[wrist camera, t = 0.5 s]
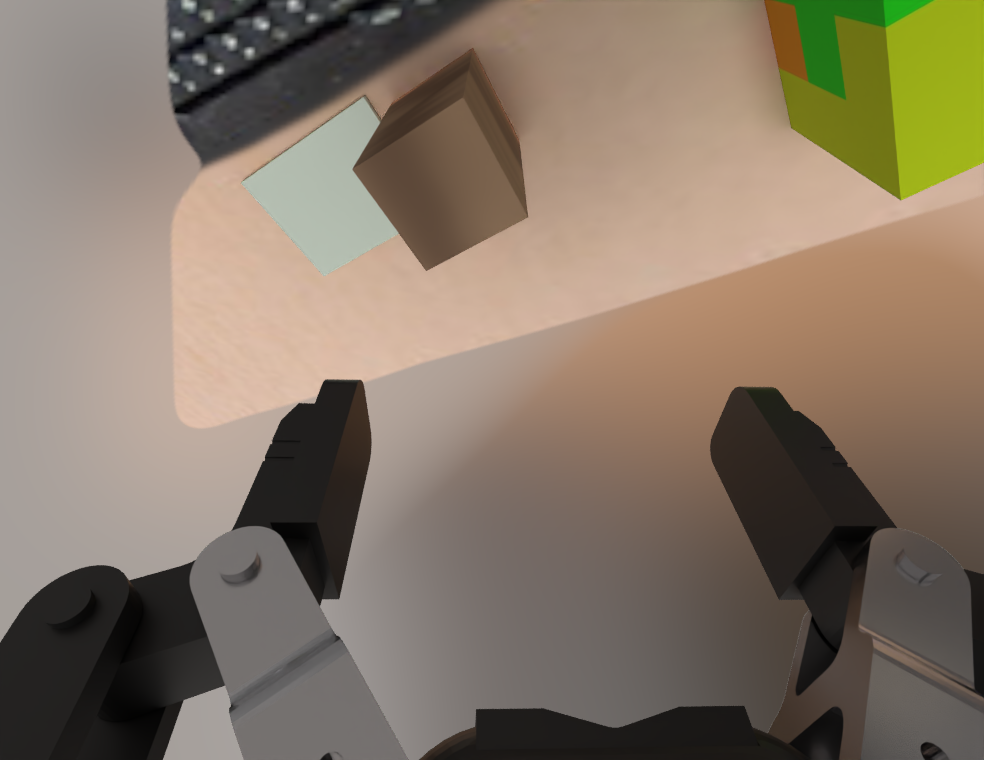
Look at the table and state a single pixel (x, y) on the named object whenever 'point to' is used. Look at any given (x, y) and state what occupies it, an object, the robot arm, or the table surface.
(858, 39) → the puzzle toy
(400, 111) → the walnut block
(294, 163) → the sage pad
